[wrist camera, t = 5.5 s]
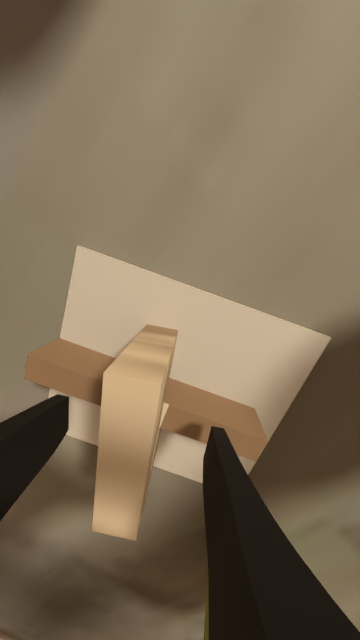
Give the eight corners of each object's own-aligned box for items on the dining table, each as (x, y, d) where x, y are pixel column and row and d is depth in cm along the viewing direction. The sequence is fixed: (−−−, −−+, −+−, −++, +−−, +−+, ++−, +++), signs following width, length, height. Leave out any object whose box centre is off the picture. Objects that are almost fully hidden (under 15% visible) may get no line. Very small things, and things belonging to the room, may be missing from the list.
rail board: (327, 335, 12) (369, 357, 9) (234, 489, 16) (243, 540, 13) (81, 246, 12) (43, 238, 9) (46, 422, 16) (11, 458, 13)
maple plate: (147, 324, 12) (103, 372, 7) (178, 330, 12) (161, 384, 7) (134, 426, 14) (92, 530, 9) (160, 431, 14) (135, 541, 9)
